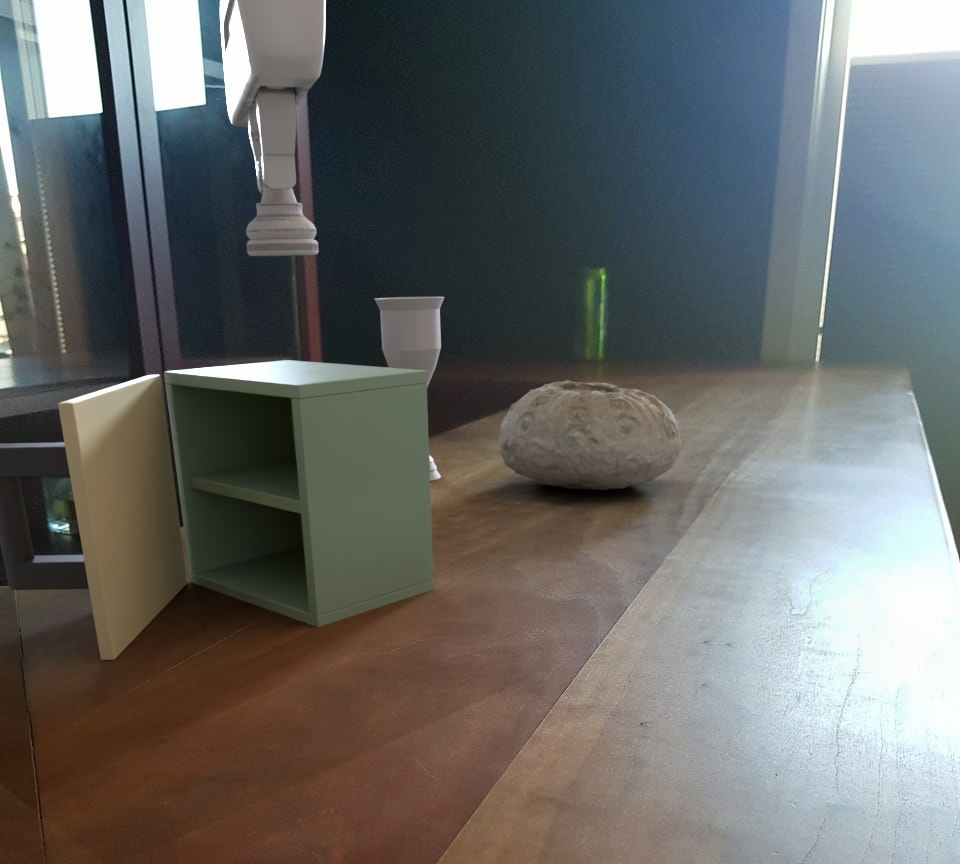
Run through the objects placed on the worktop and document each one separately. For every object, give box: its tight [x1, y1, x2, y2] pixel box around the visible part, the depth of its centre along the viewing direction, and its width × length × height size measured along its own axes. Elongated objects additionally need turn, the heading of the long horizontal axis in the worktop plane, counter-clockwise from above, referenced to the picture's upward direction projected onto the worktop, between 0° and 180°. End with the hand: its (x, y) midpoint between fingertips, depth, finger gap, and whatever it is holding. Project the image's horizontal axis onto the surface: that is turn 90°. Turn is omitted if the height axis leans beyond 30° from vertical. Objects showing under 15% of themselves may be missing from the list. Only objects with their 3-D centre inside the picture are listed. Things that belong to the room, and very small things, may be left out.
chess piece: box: [245, 97, 320, 257], centre depth 59 cm, size 4×4×10 cm
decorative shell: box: [498, 379, 682, 491], centre depth 96 cm, size 18×18×10 cm
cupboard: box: [163, 359, 435, 628], centre depth 66 cm, size 10×15×15 cm
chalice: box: [374, 296, 445, 482], centre depth 101 cm, size 7×7×18 cm
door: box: [0, 374, 188, 661], centre depth 60 cm, size 6×15×14 cm, turn 0°
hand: (277, 192), depth 60 cm, fingers closed on chess piece, 2 cm apart
